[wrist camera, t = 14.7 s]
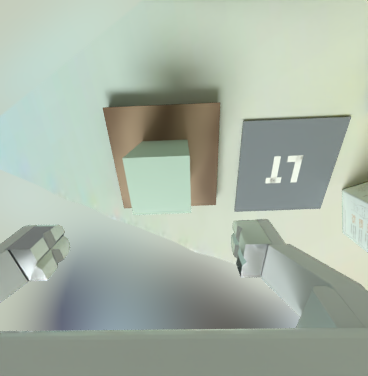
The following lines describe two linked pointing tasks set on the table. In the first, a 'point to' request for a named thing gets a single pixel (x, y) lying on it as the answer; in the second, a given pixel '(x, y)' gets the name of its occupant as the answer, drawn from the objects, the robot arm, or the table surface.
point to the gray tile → (287, 162)
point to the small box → (356, 214)
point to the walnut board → (169, 130)
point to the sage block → (159, 177)
